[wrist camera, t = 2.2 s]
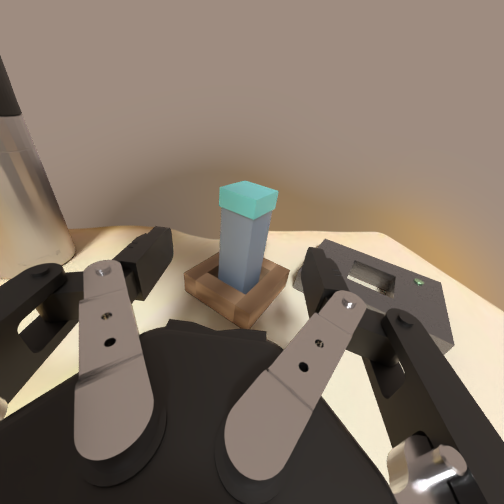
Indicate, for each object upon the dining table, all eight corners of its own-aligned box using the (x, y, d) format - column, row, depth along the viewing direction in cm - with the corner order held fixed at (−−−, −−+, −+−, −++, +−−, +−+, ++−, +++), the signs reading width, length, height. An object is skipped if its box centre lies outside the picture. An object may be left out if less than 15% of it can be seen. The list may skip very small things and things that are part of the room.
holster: (185, 290, 28) (184, 273, 26) (232, 258, 35) (233, 243, 33) (246, 332, 24) (250, 314, 22) (285, 286, 31) (289, 270, 29)
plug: (215, 289, 29) (219, 187, 21) (235, 274, 32) (245, 180, 24) (241, 305, 27) (256, 199, 19) (259, 287, 30) (278, 191, 22)
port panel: (292, 287, 31) (298, 270, 29) (320, 252, 41) (325, 237, 39) (437, 361, 24) (455, 344, 22) (429, 296, 33) (441, 281, 31)
